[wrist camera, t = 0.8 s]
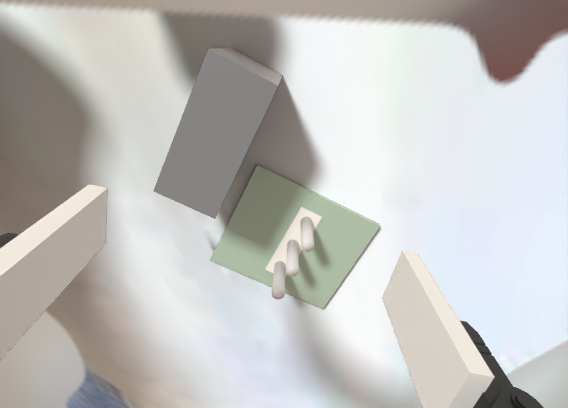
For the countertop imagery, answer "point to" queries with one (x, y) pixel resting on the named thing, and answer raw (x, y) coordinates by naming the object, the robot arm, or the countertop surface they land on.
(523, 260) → the countertop surface
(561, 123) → the countertop surface
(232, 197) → the countertop surface
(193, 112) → the block
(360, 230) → the board
